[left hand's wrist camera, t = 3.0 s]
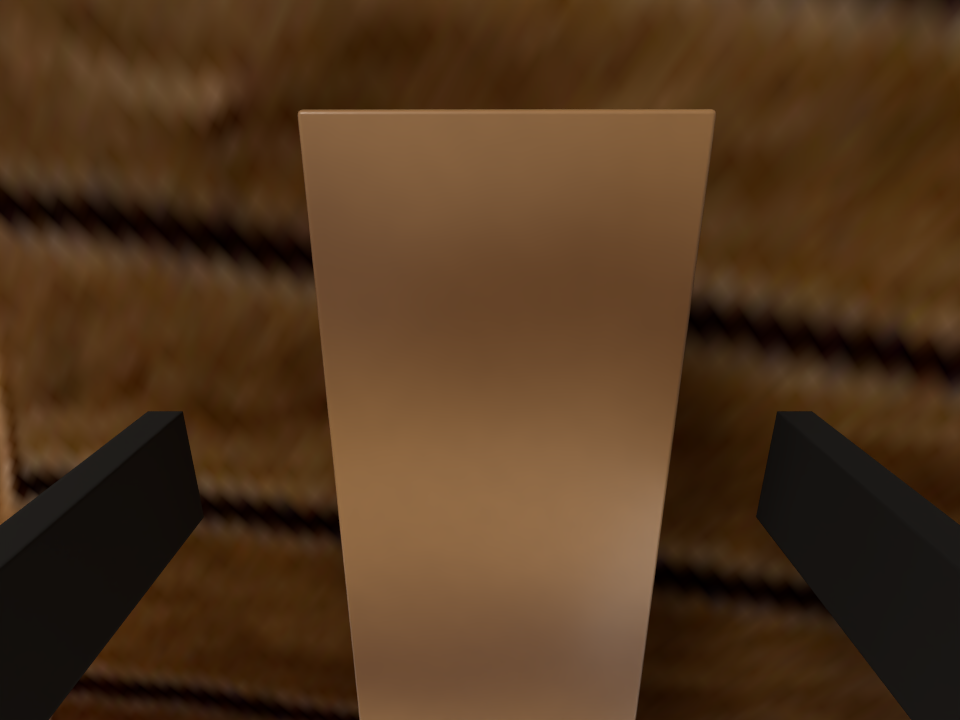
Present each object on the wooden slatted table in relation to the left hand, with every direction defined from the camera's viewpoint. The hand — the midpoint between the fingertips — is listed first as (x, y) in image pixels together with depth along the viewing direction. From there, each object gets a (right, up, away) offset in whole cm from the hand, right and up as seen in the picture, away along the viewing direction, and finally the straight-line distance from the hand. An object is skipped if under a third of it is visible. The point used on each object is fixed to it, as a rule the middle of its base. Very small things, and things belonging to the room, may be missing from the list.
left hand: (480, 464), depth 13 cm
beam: (0, -21, +12) cm, 24 cm away
